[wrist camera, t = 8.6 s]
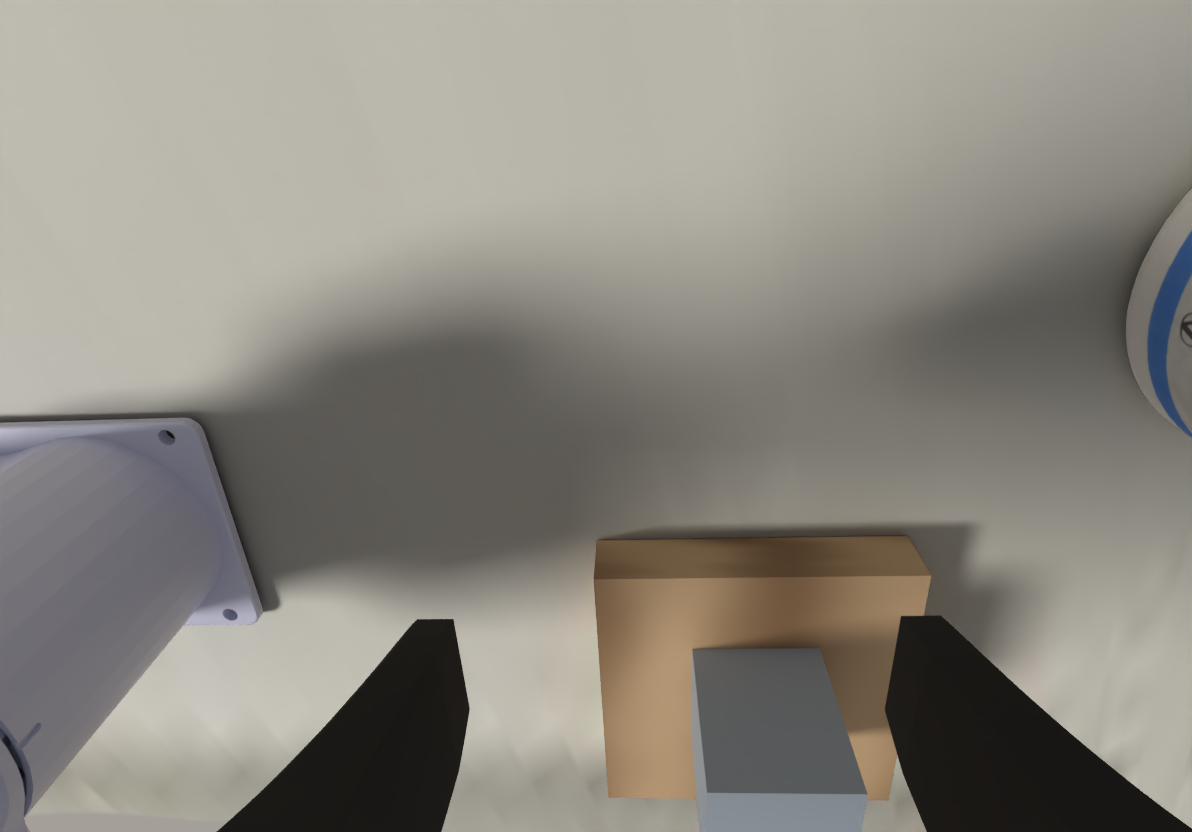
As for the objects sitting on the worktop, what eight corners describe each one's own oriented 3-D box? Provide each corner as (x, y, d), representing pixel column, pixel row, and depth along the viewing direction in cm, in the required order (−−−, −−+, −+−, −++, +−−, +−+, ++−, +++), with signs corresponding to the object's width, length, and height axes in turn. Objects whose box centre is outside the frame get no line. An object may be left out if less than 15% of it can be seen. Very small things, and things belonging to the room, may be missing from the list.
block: (691, 736, 24) (704, 888, 19) (692, 648, 22) (707, 793, 18) (809, 737, 24) (851, 891, 19) (820, 648, 22) (867, 794, 18)
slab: (610, 750, 27) (608, 797, 26) (596, 540, 23) (593, 579, 21) (871, 751, 27) (888, 800, 25) (907, 535, 22) (931, 575, 21)
